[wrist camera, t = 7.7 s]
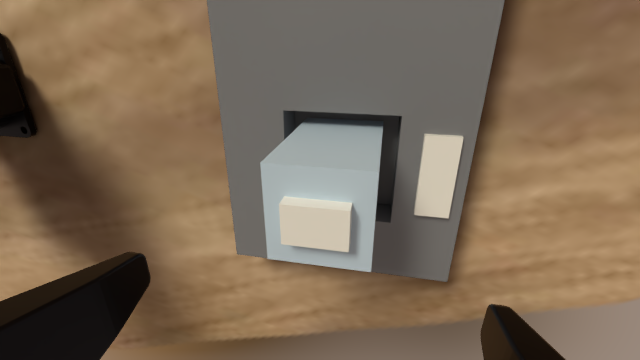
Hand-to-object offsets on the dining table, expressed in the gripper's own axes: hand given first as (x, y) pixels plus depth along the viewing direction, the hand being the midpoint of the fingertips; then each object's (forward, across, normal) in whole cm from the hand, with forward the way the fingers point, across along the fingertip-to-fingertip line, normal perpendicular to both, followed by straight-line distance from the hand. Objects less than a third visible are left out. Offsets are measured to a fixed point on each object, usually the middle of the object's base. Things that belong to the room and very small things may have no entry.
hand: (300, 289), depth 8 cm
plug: (+10, 0, 0) cm, 11 cm away
